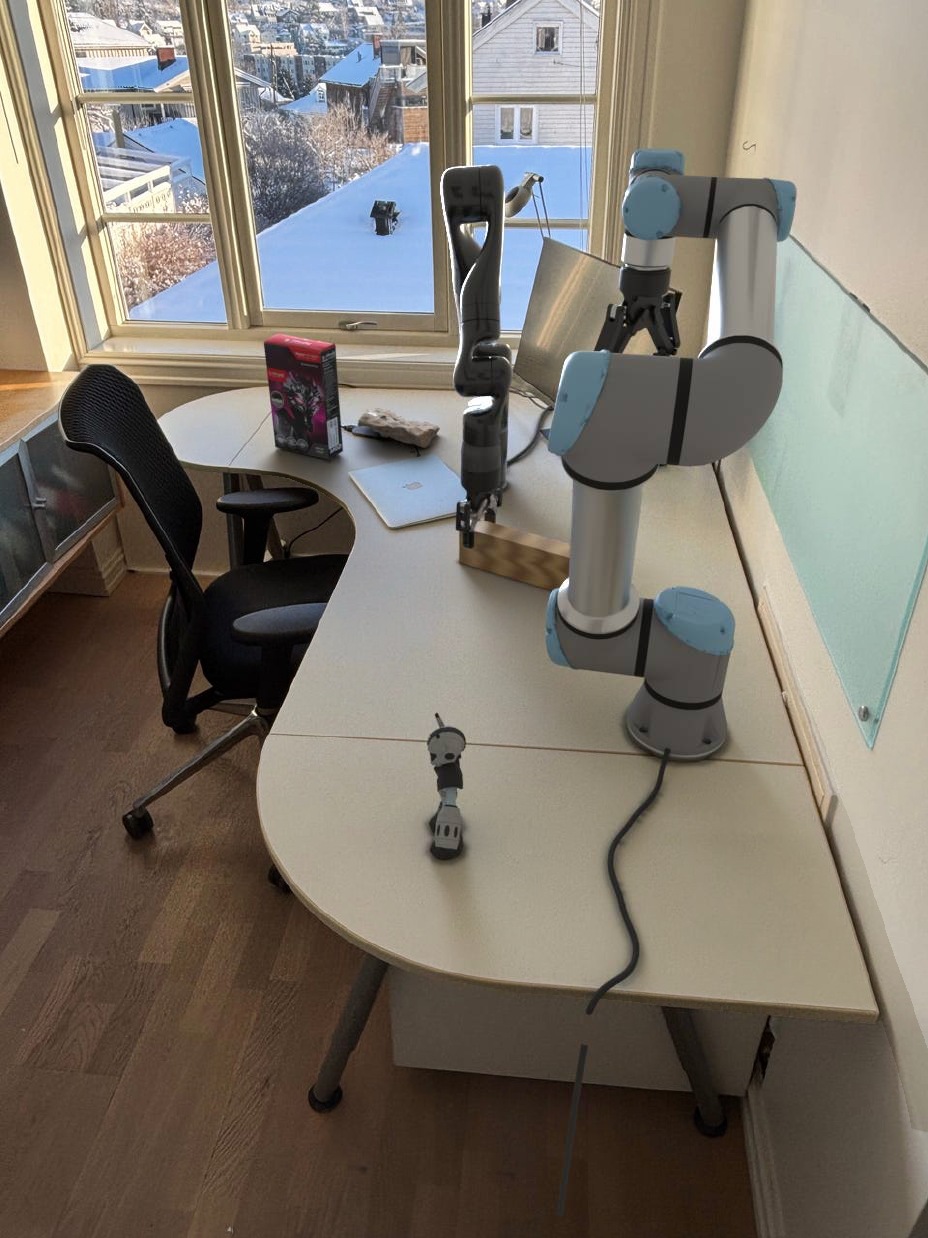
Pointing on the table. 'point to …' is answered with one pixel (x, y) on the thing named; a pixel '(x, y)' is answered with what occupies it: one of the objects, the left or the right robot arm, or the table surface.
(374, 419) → the stone
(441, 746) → the robot
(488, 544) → the bar
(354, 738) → the table surface
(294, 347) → the graphics card box
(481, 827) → the table surface
